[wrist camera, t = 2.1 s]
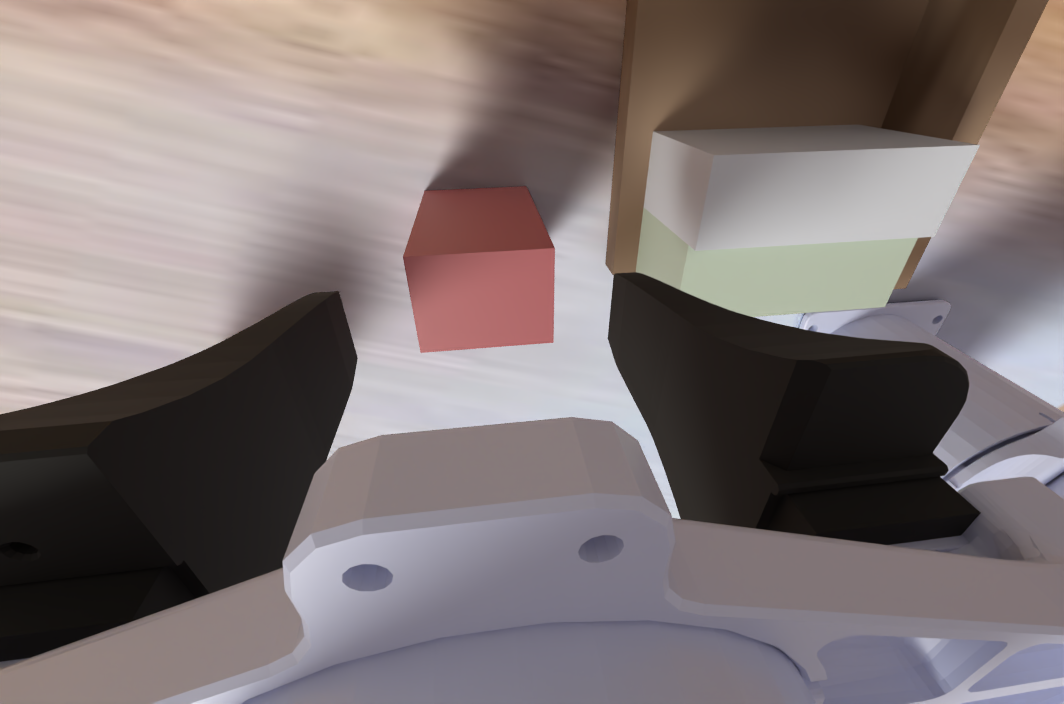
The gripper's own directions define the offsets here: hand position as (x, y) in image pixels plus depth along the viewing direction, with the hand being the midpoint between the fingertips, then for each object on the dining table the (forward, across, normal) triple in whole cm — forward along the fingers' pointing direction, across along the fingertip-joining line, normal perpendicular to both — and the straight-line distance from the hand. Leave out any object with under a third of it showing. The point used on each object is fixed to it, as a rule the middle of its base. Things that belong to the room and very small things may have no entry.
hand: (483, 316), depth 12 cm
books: (+6, -11, -1) cm, 12 cm away
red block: (+8, 0, 0) cm, 8 cm away
